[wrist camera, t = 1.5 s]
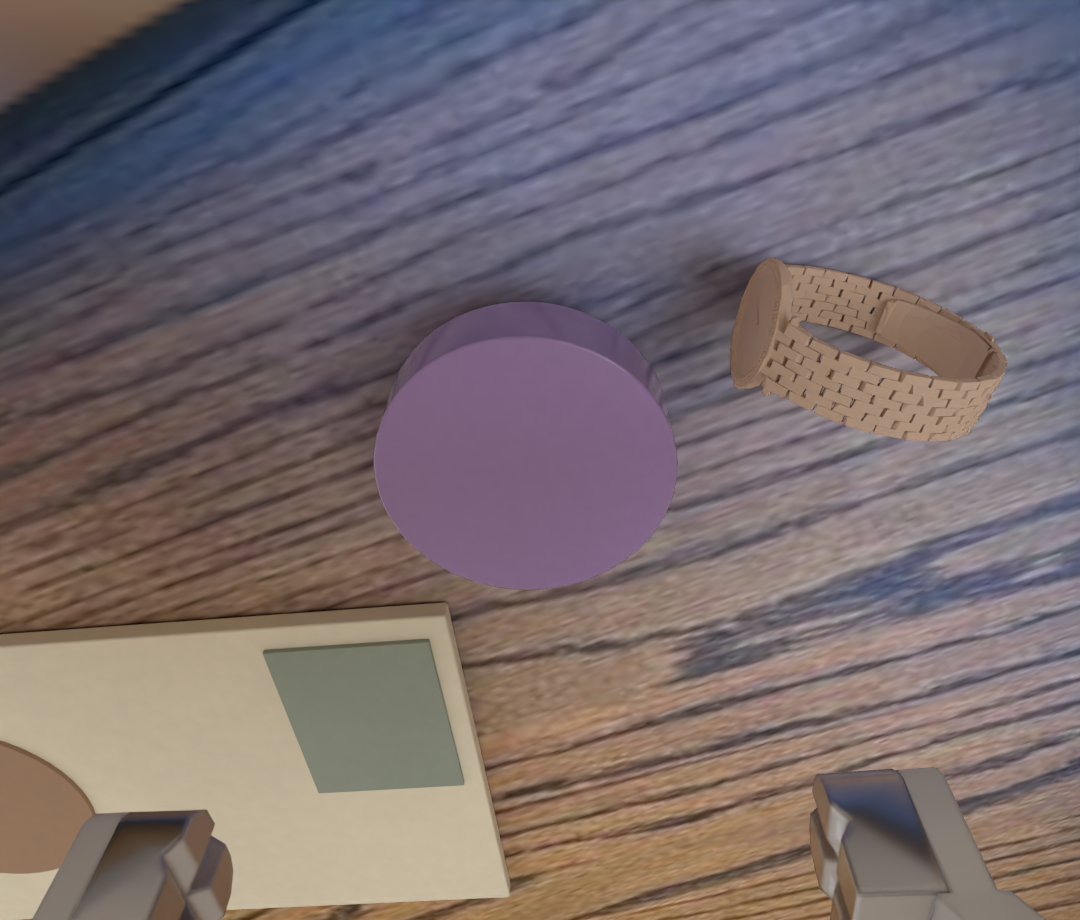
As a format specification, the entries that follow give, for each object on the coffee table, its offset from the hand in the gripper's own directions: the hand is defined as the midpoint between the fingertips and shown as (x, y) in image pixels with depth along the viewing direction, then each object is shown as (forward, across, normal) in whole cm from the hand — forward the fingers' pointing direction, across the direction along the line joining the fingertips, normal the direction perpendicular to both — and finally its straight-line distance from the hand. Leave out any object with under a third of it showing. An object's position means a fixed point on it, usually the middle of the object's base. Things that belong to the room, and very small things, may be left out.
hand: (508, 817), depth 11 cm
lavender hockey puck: (+11, 0, 0) cm, 11 cm away
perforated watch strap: (+11, -7, -2) cm, 13 cm away
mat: (+11, +14, +13) cm, 22 cm away
